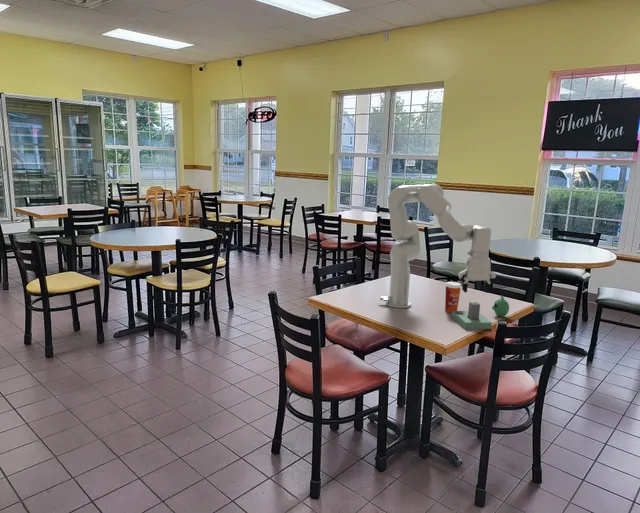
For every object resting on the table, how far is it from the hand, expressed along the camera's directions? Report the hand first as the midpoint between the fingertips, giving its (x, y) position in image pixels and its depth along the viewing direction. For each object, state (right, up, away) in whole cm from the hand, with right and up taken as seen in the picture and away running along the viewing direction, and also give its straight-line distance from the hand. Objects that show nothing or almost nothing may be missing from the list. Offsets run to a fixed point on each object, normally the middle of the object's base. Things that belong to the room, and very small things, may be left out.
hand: (475, 291), depth 213 cm
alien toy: (+17, -13, +15) cm, 26 cm away
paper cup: (-5, -11, +21) cm, 24 cm away
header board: (0, -15, +5) cm, 15 cm away
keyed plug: (0, -15, +3) cm, 15 cm away
